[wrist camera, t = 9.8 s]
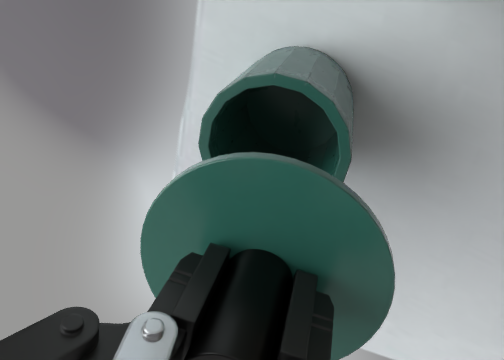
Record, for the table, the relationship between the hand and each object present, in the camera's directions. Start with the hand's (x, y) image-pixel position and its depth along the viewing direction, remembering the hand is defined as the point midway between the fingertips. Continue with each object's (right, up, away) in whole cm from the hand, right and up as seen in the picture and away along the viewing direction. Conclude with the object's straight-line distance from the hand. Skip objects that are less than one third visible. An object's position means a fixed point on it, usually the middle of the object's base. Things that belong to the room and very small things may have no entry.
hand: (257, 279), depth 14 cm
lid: (0, 0, +1) cm, 1 cm away
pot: (+3, +9, +16) cm, 19 cm away
